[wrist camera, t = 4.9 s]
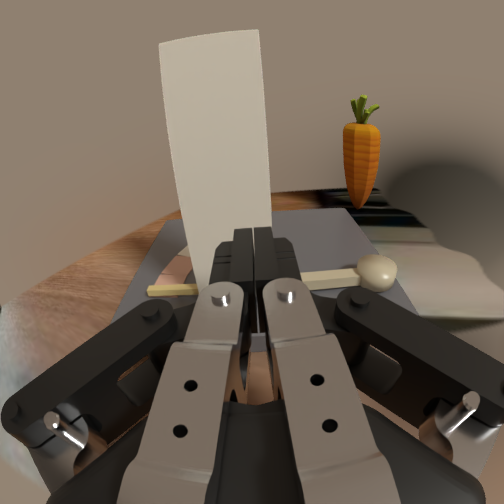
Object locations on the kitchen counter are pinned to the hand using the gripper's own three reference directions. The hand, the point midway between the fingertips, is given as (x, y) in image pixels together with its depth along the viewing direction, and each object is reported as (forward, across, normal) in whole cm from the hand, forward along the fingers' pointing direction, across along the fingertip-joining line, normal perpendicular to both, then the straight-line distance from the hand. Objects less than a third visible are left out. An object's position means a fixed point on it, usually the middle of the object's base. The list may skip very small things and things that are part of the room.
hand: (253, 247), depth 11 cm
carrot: (+22, -14, +8) cm, 27 cm away
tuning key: (+5, -1, +6) cm, 8 cm away
